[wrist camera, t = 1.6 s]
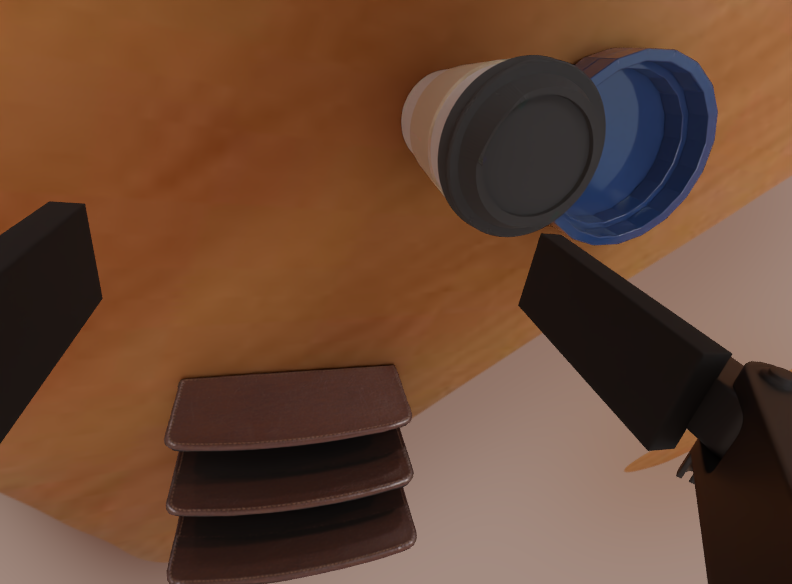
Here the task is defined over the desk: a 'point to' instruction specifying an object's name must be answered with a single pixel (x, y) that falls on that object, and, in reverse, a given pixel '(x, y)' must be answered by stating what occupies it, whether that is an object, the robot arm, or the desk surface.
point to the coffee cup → (507, 139)
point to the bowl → (643, 142)
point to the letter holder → (287, 474)
